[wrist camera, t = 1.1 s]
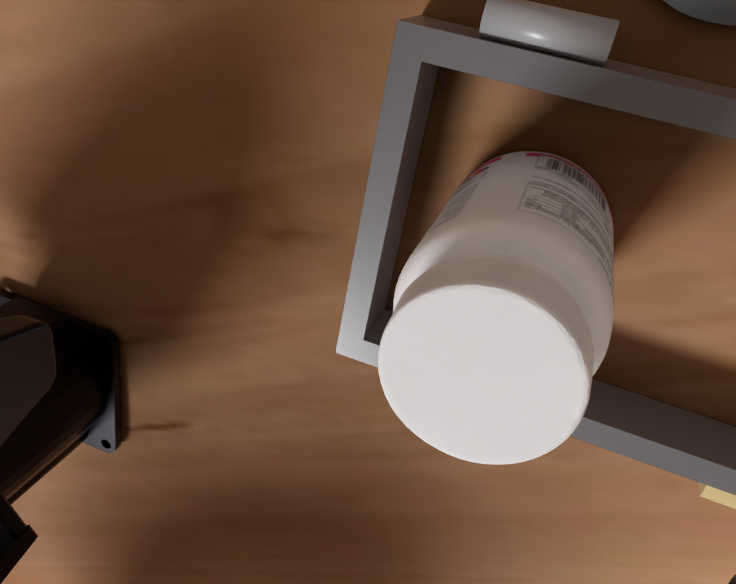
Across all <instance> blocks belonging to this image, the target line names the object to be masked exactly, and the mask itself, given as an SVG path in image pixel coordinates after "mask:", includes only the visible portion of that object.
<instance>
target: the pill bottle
mask: <svg viewBox="0 0 736 584" xmlns="http://www.w3.org/2000/svg"><path fill="white" fill-rule="evenodd" d="M613 249H614V232H613V219H612V214H611V210H610V207H609V204H608V201H607V199H606V197H605V195H604V193H603V191H602V190H601V188H600V187H599V185H598V184H597V182H596V181H595V180H594V179H593V178H592V177H591V176H590V175H589V174H588V173H587V172H586V171H585V170H583V169H582V168H581V167H580V166H578V165H576V164H575V163H573V162H572V161H570V160H568V159H566V158H563V157H560V156H557V155H554V154H550V153H545V152H538V151H520V152H513V153H509V154H505V155H502V156H499V157H496V158H494V159H492V160H490V161H488V162H486V163H484V164H483V165H481V166H480V167H478V168H477V169H476V170H475V171H473V172H472V173H471V174H470V175H469V176H468V177H467V178H466V179H465V180H464V181H463V182H462V183H461V184H460V186H459V187H458V188H457V190H456V191H455V193H454V194H453V195H452V197H451V199H450V200H449V201H448V203H447V204H446V205H445V207H444V208H443V210H442V211H441V213H440V214H439V216H438V217H437V219H436V220H435V222H434V223H433V224H432V226H431V227H430V228H429V230H428V231H427V233H426V234H425V235H424V237H423V239H422V240H421V242H420V243H419V244H418V246H417V247H416V248H415V250H414V251H413V253H412V254H411V255H410V257H409V258H408V260H407V262H406V264H405V265H404V267H403V269H402V272H401V274H400V276H399V279H398V282H397V285H396V289H395V294H394V301H393V314H392V316H391V318H390V320H389V322H388V324H387V326H386V327H385V330H384V332H383V335H382V338H381V342H380V347H379V353H378V370H379V376H380V381H381V385H382V387H383V391H384V394H385V396H386V398H387V400H388V402H389V404H390V406H391V408H392V409H393V411H394V412H395V414H396V415H397V416H398V417H399V418H400V419H401V421H402V422H403V423H404V424H405V425H406V426H407V427H408V428H409V429H410V430H411V431H412V432H413V433H414V434H416V435H417V436H418V437H420V438H421V439H422V440H423V441H425V442H427V443H428V444H430V445H431V446H433V447H435V448H437V449H438V450H440V451H442V452H444V453H446V454H448V455H451V456H453V457H456V458H459V459H462V460H466V461H470V462H475V463H482V464H494V465H499V464H513V463H520V462H525V461H528V460H532V459H535V458H537V457H540V456H542V455H544V454H546V453H548V452H550V451H551V450H553V449H555V448H556V447H558V446H559V445H560V444H561V443H563V442H564V441H565V440H566V439H567V438H568V437H569V436H570V435H571V434H572V433H573V432H574V431H575V429H576V428H577V426H578V425H579V423H580V422H581V420H582V418H583V416H584V414H585V411H586V408H587V405H588V402H589V398H590V391H591V383H592V377H593V375H594V374H595V373H596V371H597V370H598V368H599V366H600V365H601V363H602V361H603V359H604V357H605V354H606V352H607V349H608V345H609V342H610V338H611V332H612V326H613V313H614V295H613V287H614V283H613V260H614V252H613Z"/></svg>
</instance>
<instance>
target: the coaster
mask: <svg viewBox="0 0 736 584" xmlns="http://www.w3.org/2000/svg"><path fill="white" fill-rule="evenodd" d="M663 1H664V2H666V3H667V4H669V5H670V6H672V7H673V8H675V9H676V10H678V11H680V12H682V13H684V14H686V15H689V16H691V17H693V18H696V19H700V20H703V21H707V22H710V23H717V24H724V25H736V0H663Z"/></svg>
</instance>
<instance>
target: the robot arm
mask: <svg viewBox="0 0 736 584" xmlns="http://www.w3.org/2000/svg"><path fill="white" fill-rule="evenodd" d="M82 442H83V443H86V444H88V445H91V446H93V447H95V448H98V449H100V450H102V451H105V452H107V453H113V452H114V451H115V450H116V449H117V448H118V447H119V446H120V445H121V403H120V344H119V340H118V338H117V336H116V335H115V334H114V333H113V332H112V331H110V330H108V329H105V328H102V327H100V326H97V325H94V324H92V323H89V322H87V321H84V320H81V319H79V318H76V317H73V316H71V315H68V314H65V313H63V312H60V311H58V310H55V309H52V308H50V307H47V306H44V305H42V304H39V303H36V302H34V301H31V300H29V299H26V298H23V297H21V296H18V295H15V294H13V293H10V292H7V291H5V290H2V289H0V584H1V583H2V581H3V580H4V579H5V578H6V576H7V575H8V574H9V573H10V571H11V570H12V569H13V567H14V566H15V565H16V564H17V562H18V561H19V560H20V559H21V557H22V556H23V555H24V554H25V552H26V551H27V550H28V549H29V547H30V546H31V545H32V543H33V542H34V541H35V540H36V538H37V537H38V535H37V534H36V533H35V531H34V530H33V529H32V528H31V526H30V525H26V524H25V523H24V522H23V520H22V519H21V518H20V517H19V515H18V514H17V513H16V511H15V510H14V509H13V507H12V506H11V504H12V503H13V502H15V501H16V500H17V499H18V498H19V497H20V496H21V495H23V494H24V493H25V492H26V491H27V490H28V489H29V488H31V487H32V486H33V485H34V484H35V483H36V482H37V481H39V480H40V479H41V478H42V477H43V476H44V475H45V474H47V473H48V472H49V471H50V470H51V469H52V468H53V467H55V466H56V465H57V464H58V463H59V462H60V461H61V460H63V459H64V458H65V457H66V456H67V455H68V454H69V453H71V452H72V451H73V450H74V449H75V448H76V447H77V446H79V445H80V444H81V443H82ZM728 584H736V575H734V576H733V578H732V579H731V580H730V582H729V583H728Z"/></svg>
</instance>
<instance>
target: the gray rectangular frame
mask: <svg viewBox="0 0 736 584" xmlns="http://www.w3.org/2000/svg"><path fill="white" fill-rule="evenodd" d="M619 22H620V21H619V20H614V19H610V18H605V17H601V16H596V15H591V14H587V13H582V12H578V11H573V10H569V9H564V8H559V7H555V6H550V5H546V4H541V3H537V2H532V1H528V0H487V2H486V5H485V8H484V11H483V15H482V19H481V24H480V29H478V28H474V27H470V26H465V25H461V24H457V23H452V22H448V21H444V20H440V19H435V18H431V17H427V16H422V15H419V16H414V17H410V18H405V19H400V20H397V25H396V30H395V36H394V41H393V47H392V52H391V57H390V63H389V68H388V74H387V79H386V84H385V90H384V95H383V100H382V106H381V111H380V117H379V122H378V127H377V133H376V138H375V144H374V149H373V154H372V160H371V165H370V170H369V176H368V181H367V187H366V192H365V197H364V203H363V208H362V214H361V219H360V224H359V230H358V235H357V240H356V246H355V251H354V257H353V262H352V267H351V273H350V278H349V284H348V289H347V294H346V300H345V305H344V310H343V316H342V321H341V327H340V332H339V337H338V343H337V348H336V353H339V354H341V355H344V356H347V357H350V358H353V359H355V360H358V361H361V362H364V363H367V364H369V365H372V366H375V367H378V353H379V347H380V342H381V338H382V335H383V332H384V330H385V327H386V326H387V324H388V322H389V320H390V318H391V316H392V314H393V311H390V310H387V309H385V306H386V302H387V297H388V293H389V288H390V284H391V279H392V275H393V270H394V266H395V261H396V257H397V252H398V248H399V243H400V239H401V234H402V230H403V225H404V221H405V216H406V212H407V207H408V203H409V198H410V194H411V190H412V185H413V181H414V176H415V172H416V167H417V163H418V158H419V154H420V149H421V145H422V140H423V136H424V131H425V127H426V122H427V118H428V113H429V109H430V104H431V100H432V95H433V91H434V86H435V82H436V77H437V73H438V68H439V66H441V67H445V68H449V69H453V70H457V71H461V72H465V73H469V74H473V75H477V76H481V77H485V78H489V79H493V80H497V81H501V82H505V83H510V84H514V85H518V86H522V87H526V88H530V89H534V90H538V91H542V92H546V93H550V94H554V95H558V96H562V97H566V98H570V99H574V100H578V101H582V102H586V103H590V104H594V105H598V106H602V107H606V108H610V109H614V110H618V111H622V112H626V113H630V114H634V115H639V116H643V117H647V118H651V119H655V120H659V121H663V122H667V123H671V124H675V125H679V126H683V127H687V128H691V129H695V130H699V131H703V132H707V133H711V134H715V135H719V136H723V137H727V138H731V139H735V140H736V88H732V87H728V86H724V85H719V84H715V83H711V82H706V81H702V80H698V79H694V78H689V77H685V76H681V75H676V74H672V73H668V72H663V71H659V70H655V69H650V68H646V67H642V66H638V65H633V64H629V63H625V62H620V61H616V60H612V59H607V58H608V55H609V52H610V49H611V47H612V44H613V41H614V38H615V35H616V32H617V29H618V26H619ZM570 436H571V437H574V438H576V439H579V440H582V441H585V442H588V443H590V444H593V445H596V446H599V447H602V448H604V449H607V450H610V451H613V452H616V453H618V454H621V455H624V456H627V457H630V458H632V459H635V460H638V461H641V462H644V463H646V464H649V465H652V466H655V467H658V468H660V469H663V470H666V471H669V472H672V473H674V474H677V475H680V476H683V477H686V478H688V479H691V480H694V481H697V482H698V487H699V493H700V496H701V497H704V498H706V499H709V500H712V501H715V502H717V503H720V504H723V505H726V506H729V507H731V508H734V509H736V427H735V426H732V425H729V424H726V423H723V422H720V421H717V420H714V419H711V418H708V417H705V416H702V415H699V414H696V413H693V412H690V411H687V410H684V409H681V408H678V407H675V406H672V405H669V404H666V403H663V402H660V401H657V400H654V399H651V398H648V397H645V396H642V395H639V394H637V393H634V392H631V391H628V390H625V389H622V388H619V387H616V386H613V385H610V384H607V383H604V382H601V381H598V380H595V379H592V383H591V391H590V398H589V402H588V405H587V408H586V411H585V414H584V416H583V418H582V420H581V422H580V423H579V425H578V426H577V428H576V429H575V431H574V432H573V433H572V434H571V435H570Z"/></svg>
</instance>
